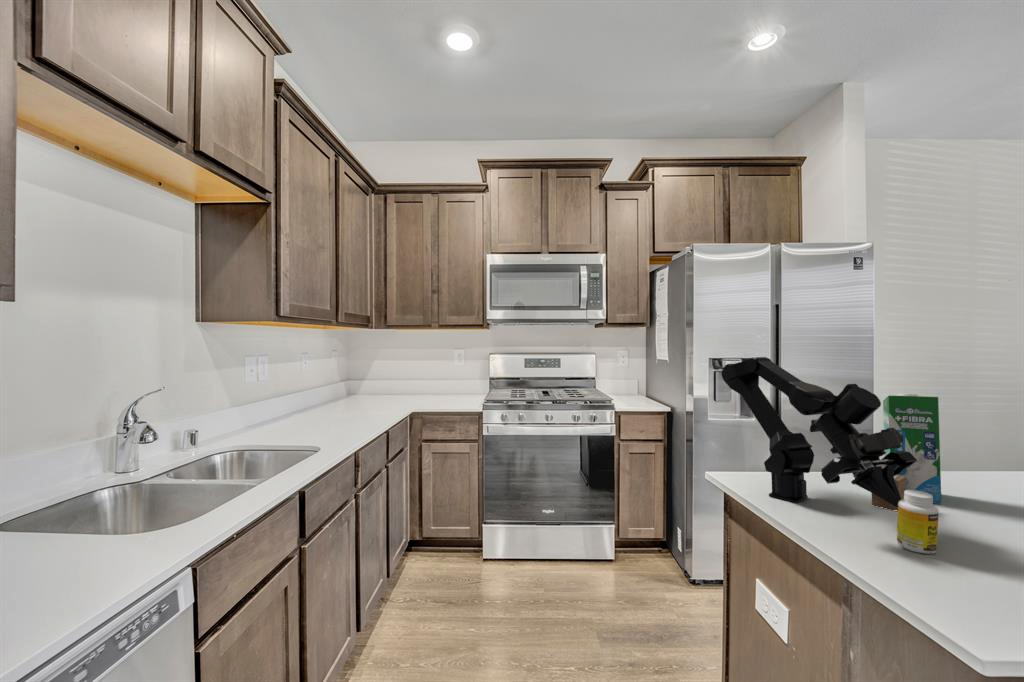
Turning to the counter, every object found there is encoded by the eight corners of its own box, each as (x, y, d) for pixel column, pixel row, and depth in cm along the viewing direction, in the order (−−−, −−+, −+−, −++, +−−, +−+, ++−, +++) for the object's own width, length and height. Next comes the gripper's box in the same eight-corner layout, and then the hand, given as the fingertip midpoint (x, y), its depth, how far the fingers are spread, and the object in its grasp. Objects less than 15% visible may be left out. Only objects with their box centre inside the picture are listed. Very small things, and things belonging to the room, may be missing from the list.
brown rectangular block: (871, 505, 106) (871, 474, 106) (879, 501, 109) (878, 470, 109) (899, 512, 102) (898, 479, 102) (906, 507, 104) (905, 475, 104)
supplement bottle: (931, 558, 80) (933, 501, 80) (892, 545, 85) (893, 492, 84) (941, 549, 83) (943, 494, 83) (902, 537, 88) (904, 485, 88)
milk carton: (932, 492, 113) (929, 392, 113) (941, 504, 105) (938, 396, 106) (885, 487, 118) (882, 391, 118) (891, 497, 110) (888, 394, 110)
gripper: (832, 417, 90) (892, 490, 79) (905, 411, 94) (971, 480, 83) (799, 448, 98) (850, 519, 87) (868, 442, 102) (925, 508, 91)
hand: (900, 506), depth 87 cm, fingers closed, pressing on supplement bottle
